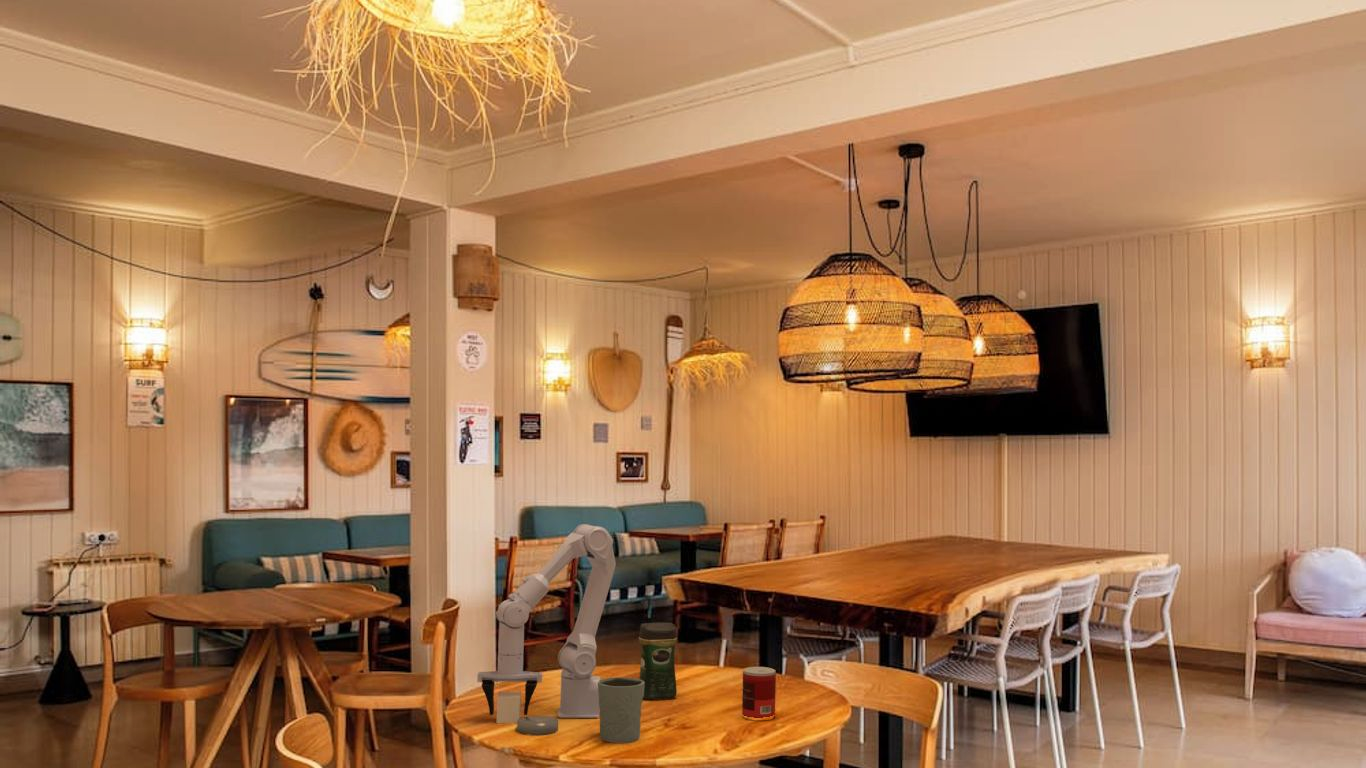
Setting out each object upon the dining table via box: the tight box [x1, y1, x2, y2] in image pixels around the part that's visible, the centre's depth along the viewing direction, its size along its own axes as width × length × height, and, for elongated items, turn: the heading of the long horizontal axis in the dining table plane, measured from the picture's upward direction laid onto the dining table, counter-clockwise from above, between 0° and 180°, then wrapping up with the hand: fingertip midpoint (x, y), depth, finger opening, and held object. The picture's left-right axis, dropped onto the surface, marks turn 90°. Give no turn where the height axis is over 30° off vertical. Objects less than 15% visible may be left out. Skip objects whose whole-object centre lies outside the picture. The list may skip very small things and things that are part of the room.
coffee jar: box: [638, 622, 678, 700], centre depth 269 cm, size 10×8×19 cm
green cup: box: [598, 676, 644, 744], centre depth 230 cm, size 10×10×12 cm
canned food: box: [741, 666, 777, 718], centre depth 251 cm, size 8×8×11 cm
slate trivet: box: [516, 715, 559, 736], centre depth 235 cm, size 9×9×2 cm
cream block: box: [496, 691, 522, 724], centre depth 242 cm, size 5×5×6 cm
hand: (508, 713), depth 242 cm, fingers open, 7 cm apart
